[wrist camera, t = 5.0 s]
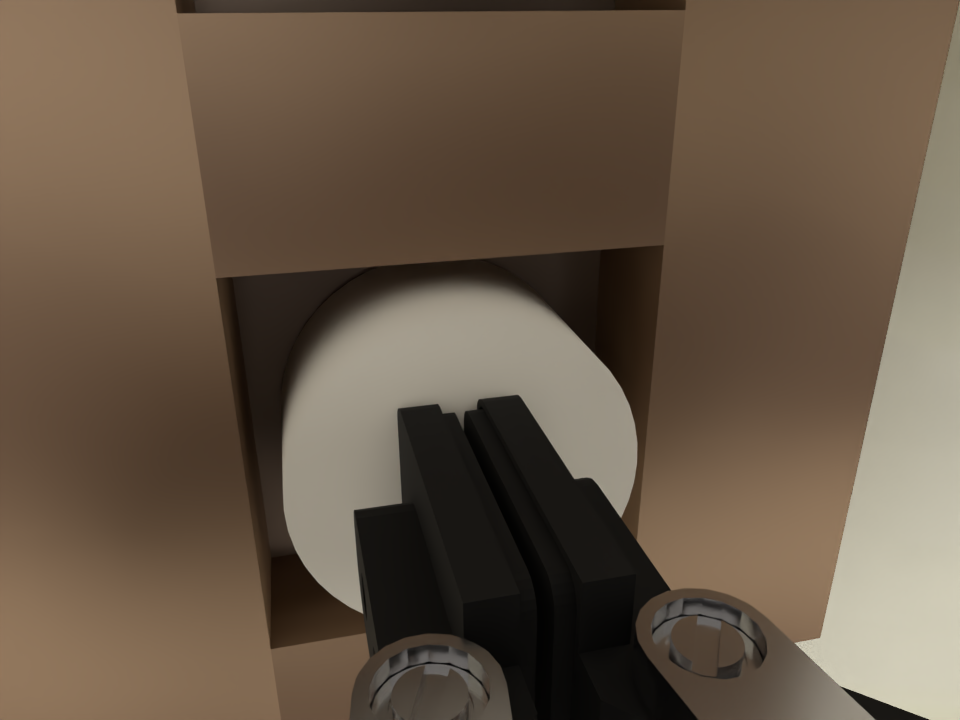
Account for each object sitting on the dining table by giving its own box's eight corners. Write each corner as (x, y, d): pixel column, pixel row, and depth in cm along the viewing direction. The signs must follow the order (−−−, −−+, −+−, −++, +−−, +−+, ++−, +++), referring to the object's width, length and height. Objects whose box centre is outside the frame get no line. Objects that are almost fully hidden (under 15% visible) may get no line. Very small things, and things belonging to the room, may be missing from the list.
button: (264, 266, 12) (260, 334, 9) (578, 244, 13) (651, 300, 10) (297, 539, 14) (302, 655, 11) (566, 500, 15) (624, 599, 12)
